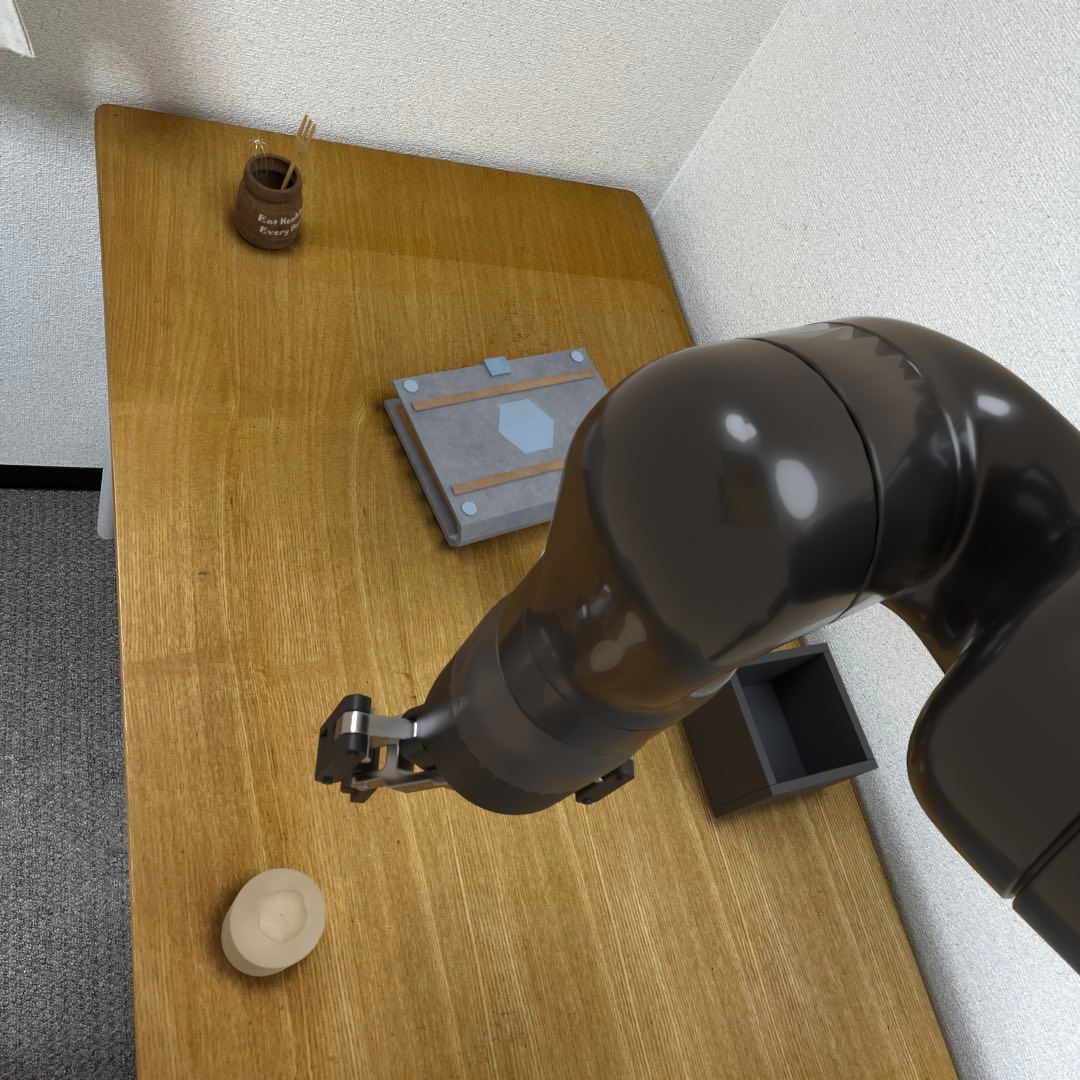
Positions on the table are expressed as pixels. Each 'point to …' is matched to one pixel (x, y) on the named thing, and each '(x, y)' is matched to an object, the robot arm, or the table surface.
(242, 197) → the utensil holder
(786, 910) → the table surface
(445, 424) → the book
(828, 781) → the bin
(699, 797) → the table surface
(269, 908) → the candle
